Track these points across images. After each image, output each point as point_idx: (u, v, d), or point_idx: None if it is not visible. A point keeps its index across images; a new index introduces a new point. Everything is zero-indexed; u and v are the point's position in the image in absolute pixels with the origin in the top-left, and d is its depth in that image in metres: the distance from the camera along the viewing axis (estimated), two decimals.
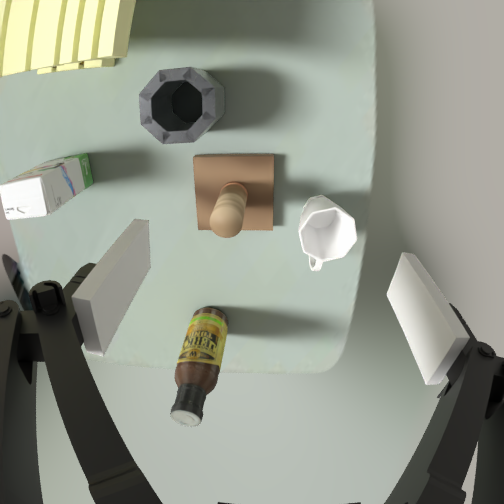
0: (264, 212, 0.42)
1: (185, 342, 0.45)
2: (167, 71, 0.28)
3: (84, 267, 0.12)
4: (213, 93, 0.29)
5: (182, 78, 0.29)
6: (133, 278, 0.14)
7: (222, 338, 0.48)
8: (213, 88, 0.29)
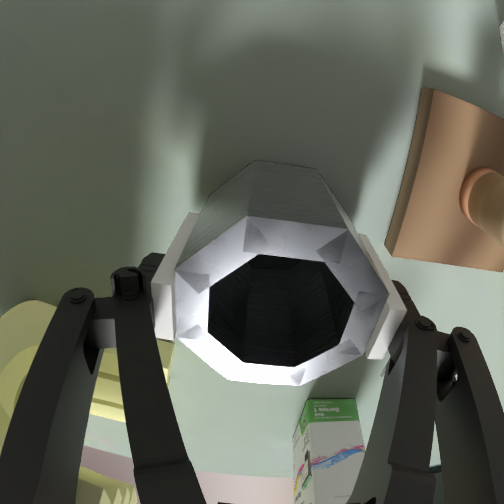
0: None
1: None
2: (180, 321, 0.12)
3: (148, 257, 0.14)
4: (266, 221, 0.10)
5: (205, 293, 0.12)
6: None
7: None
8: (249, 219, 0.10)
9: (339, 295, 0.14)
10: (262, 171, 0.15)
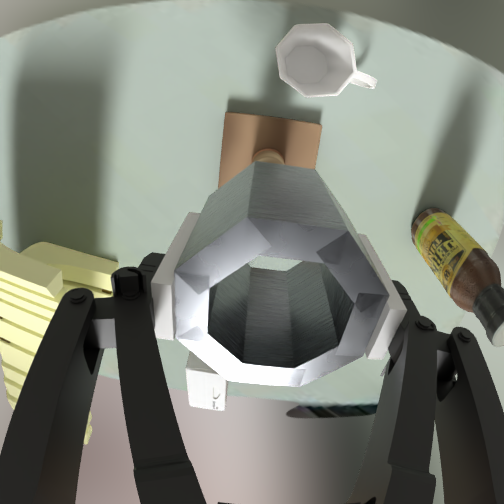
0: (295, 131, 0.32)
1: (435, 274, 0.32)
2: (180, 323, 0.12)
3: (148, 257, 0.14)
4: (266, 223, 0.10)
5: (204, 294, 0.12)
6: None
7: (449, 225, 0.31)
8: (249, 220, 0.10)
9: (339, 296, 0.14)
10: (262, 172, 0.15)
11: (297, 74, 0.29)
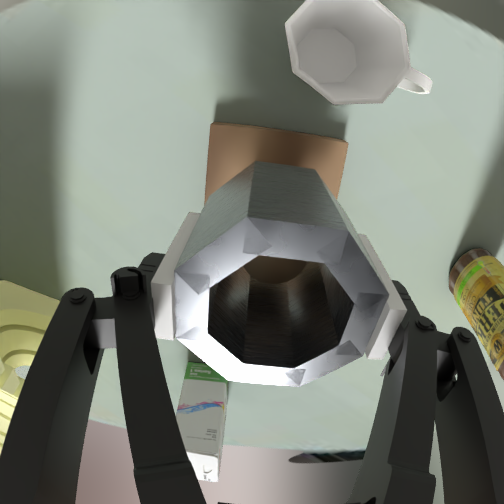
0: (311, 151, 0.22)
1: (479, 338, 0.23)
2: (180, 322, 0.12)
3: (148, 257, 0.14)
4: (265, 223, 0.10)
5: (204, 294, 0.12)
6: None
7: (500, 276, 0.22)
8: (249, 220, 0.10)
9: (339, 296, 0.14)
10: (262, 172, 0.15)
11: (314, 69, 0.20)
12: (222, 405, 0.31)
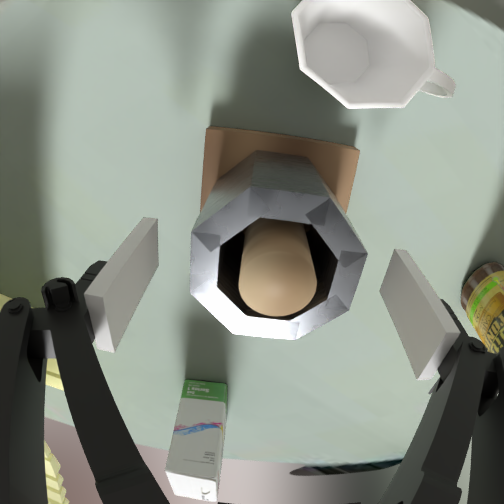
0: (318, 159, 0.20)
1: None
2: (194, 278, 0.15)
3: (94, 265, 0.13)
4: (265, 191, 0.13)
5: (215, 252, 0.15)
6: (142, 276, 0.14)
7: None
8: (252, 189, 0.13)
9: (327, 259, 0.17)
10: (262, 158, 0.18)
11: (322, 67, 0.17)
12: (221, 426, 0.28)
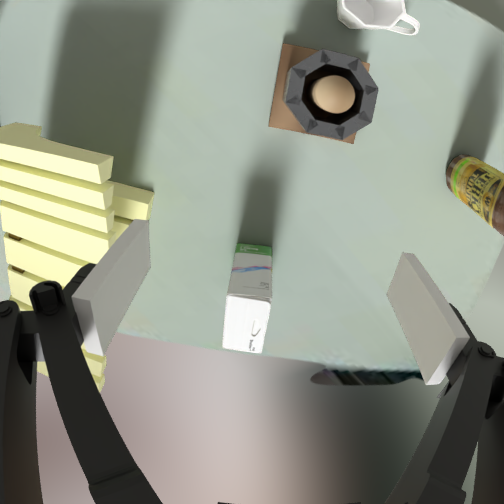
0: None
1: (474, 207, 0.31)
2: (289, 93, 0.26)
3: (84, 267, 0.12)
4: (329, 51, 0.24)
5: (302, 79, 0.25)
6: (133, 278, 0.14)
7: (483, 164, 0.30)
8: (323, 50, 0.24)
9: (357, 99, 0.27)
10: None
11: None
12: (271, 269, 0.39)
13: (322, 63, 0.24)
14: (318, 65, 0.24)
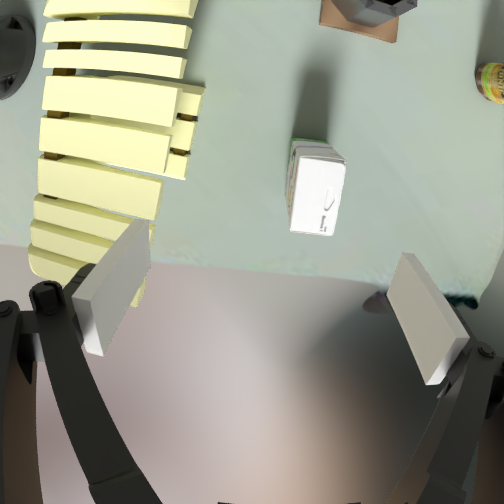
0: None
1: None
2: None
3: (84, 268, 0.12)
4: None
5: None
6: (133, 278, 0.14)
7: None
8: None
9: None
10: None
11: None
12: None
13: None
14: None
